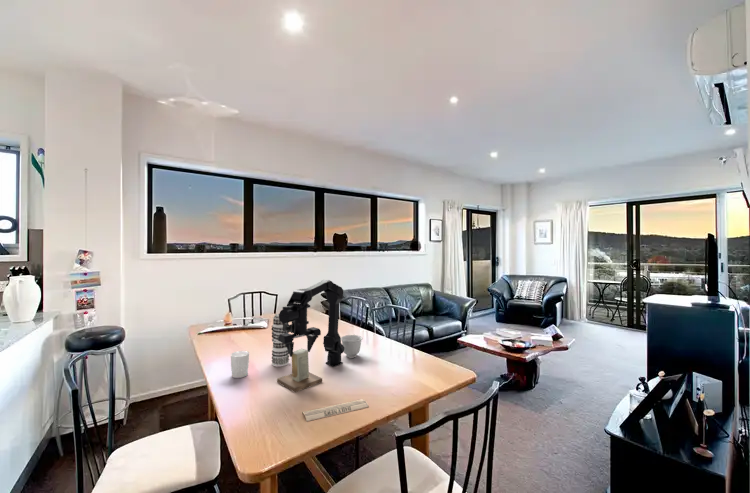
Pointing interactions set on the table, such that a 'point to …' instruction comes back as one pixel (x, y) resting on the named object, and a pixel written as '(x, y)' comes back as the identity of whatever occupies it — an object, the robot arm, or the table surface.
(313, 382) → the walnut block
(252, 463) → the table surface
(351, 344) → the teacup
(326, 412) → the newspaper
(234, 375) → the white cup
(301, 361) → the skincare box
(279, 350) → the decorative candle
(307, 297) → the robot arm
